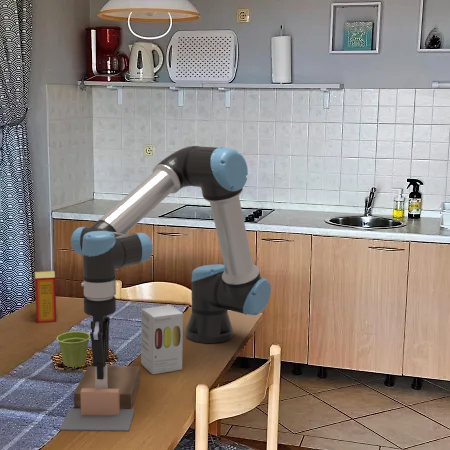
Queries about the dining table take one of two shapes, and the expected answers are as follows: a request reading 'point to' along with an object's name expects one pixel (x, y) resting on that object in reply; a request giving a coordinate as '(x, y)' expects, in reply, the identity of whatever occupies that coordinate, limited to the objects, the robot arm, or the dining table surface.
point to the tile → (100, 401)
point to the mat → (97, 421)
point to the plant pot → (73, 348)
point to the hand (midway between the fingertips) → (101, 389)
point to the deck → (113, 383)
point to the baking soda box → (45, 296)
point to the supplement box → (161, 339)
